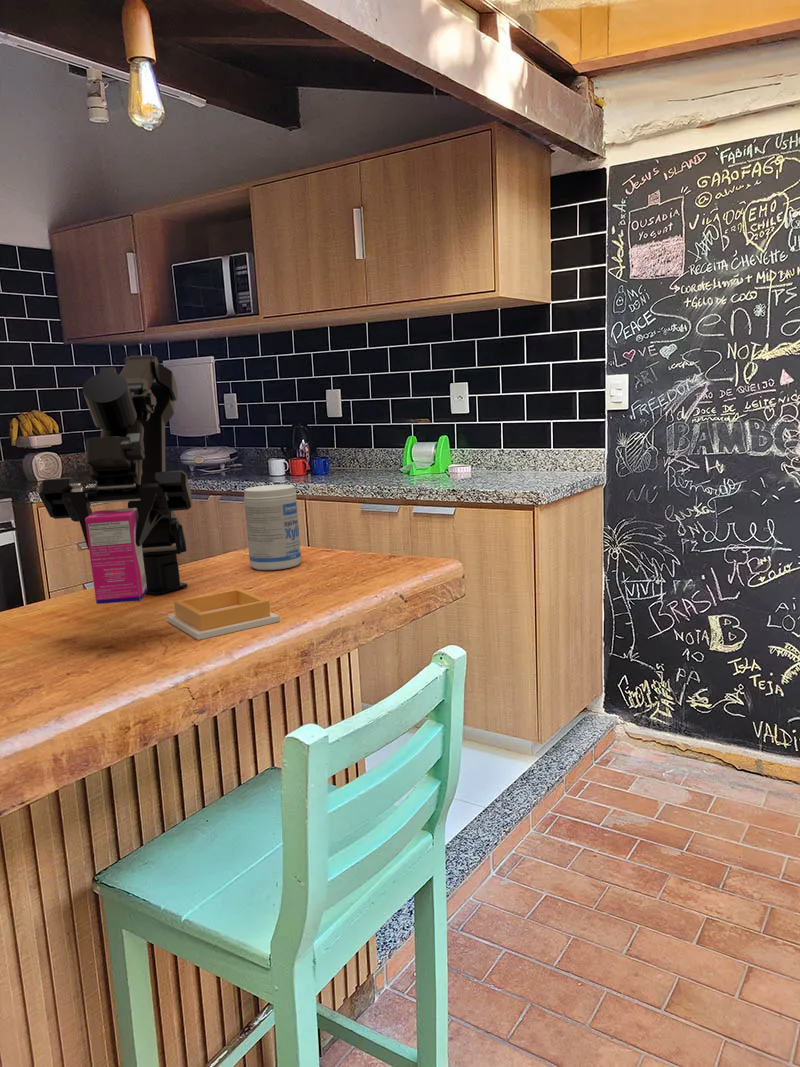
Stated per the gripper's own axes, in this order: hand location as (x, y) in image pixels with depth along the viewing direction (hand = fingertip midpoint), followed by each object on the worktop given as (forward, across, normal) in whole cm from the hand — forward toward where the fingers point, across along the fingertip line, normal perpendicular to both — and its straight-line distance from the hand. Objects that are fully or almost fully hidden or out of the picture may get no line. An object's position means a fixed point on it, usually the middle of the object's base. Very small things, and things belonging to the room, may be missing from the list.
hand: (113, 546), depth 105 cm
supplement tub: (-20, +19, +40) cm, 49 cm away
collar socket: (+4, +12, +14) cm, 19 cm away
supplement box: (+4, 0, +6) cm, 7 cm away
